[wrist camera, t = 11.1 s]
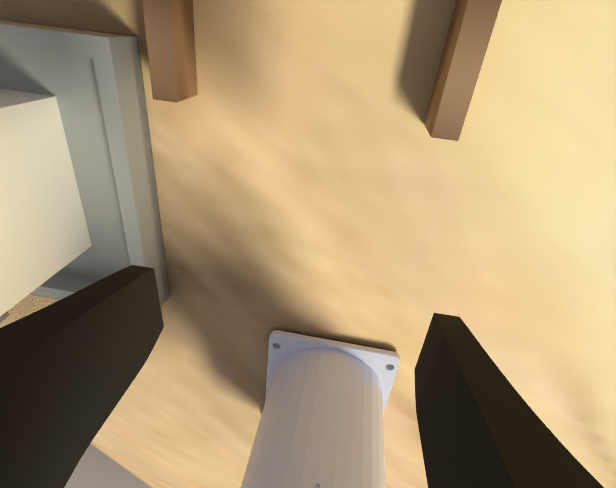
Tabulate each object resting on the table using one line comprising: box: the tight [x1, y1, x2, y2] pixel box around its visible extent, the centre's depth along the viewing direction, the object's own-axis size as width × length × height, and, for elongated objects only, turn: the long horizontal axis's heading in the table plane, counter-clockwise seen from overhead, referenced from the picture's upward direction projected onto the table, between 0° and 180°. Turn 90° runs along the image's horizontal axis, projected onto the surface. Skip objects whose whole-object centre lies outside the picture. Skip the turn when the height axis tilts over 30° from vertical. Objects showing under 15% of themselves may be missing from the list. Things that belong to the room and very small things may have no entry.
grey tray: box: [0, 20, 170, 307], centre depth 19 cm, size 14×12×2 cm
